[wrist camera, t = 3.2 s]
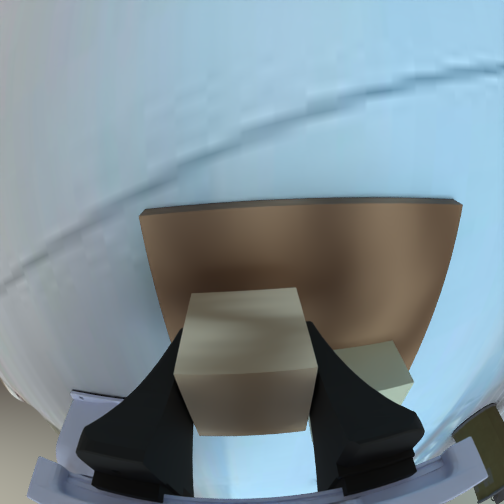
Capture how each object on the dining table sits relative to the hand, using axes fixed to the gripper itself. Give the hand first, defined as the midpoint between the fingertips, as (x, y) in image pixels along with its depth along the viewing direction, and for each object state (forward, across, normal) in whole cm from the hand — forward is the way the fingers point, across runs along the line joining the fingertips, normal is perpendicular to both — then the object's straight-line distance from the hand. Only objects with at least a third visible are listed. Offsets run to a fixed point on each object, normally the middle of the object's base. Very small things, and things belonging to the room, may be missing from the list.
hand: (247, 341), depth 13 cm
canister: (+5, -40, +36) cm, 54 cm away
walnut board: (+4, -4, +4) cm, 7 cm away
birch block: (+1, 0, 0) cm, 1 cm away
